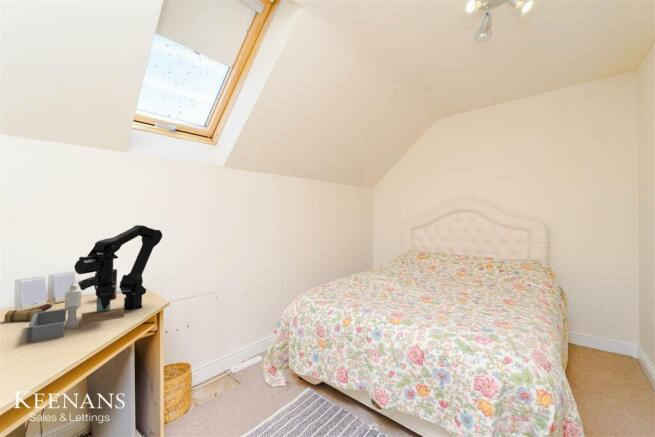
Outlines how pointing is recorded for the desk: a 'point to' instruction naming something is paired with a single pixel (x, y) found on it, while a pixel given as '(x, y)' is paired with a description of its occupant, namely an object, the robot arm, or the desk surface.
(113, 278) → the deodorant
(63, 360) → the desk surface
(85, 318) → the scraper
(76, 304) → the eye dropper bottle
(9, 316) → the gavel
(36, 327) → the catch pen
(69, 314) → the rook chess piece
